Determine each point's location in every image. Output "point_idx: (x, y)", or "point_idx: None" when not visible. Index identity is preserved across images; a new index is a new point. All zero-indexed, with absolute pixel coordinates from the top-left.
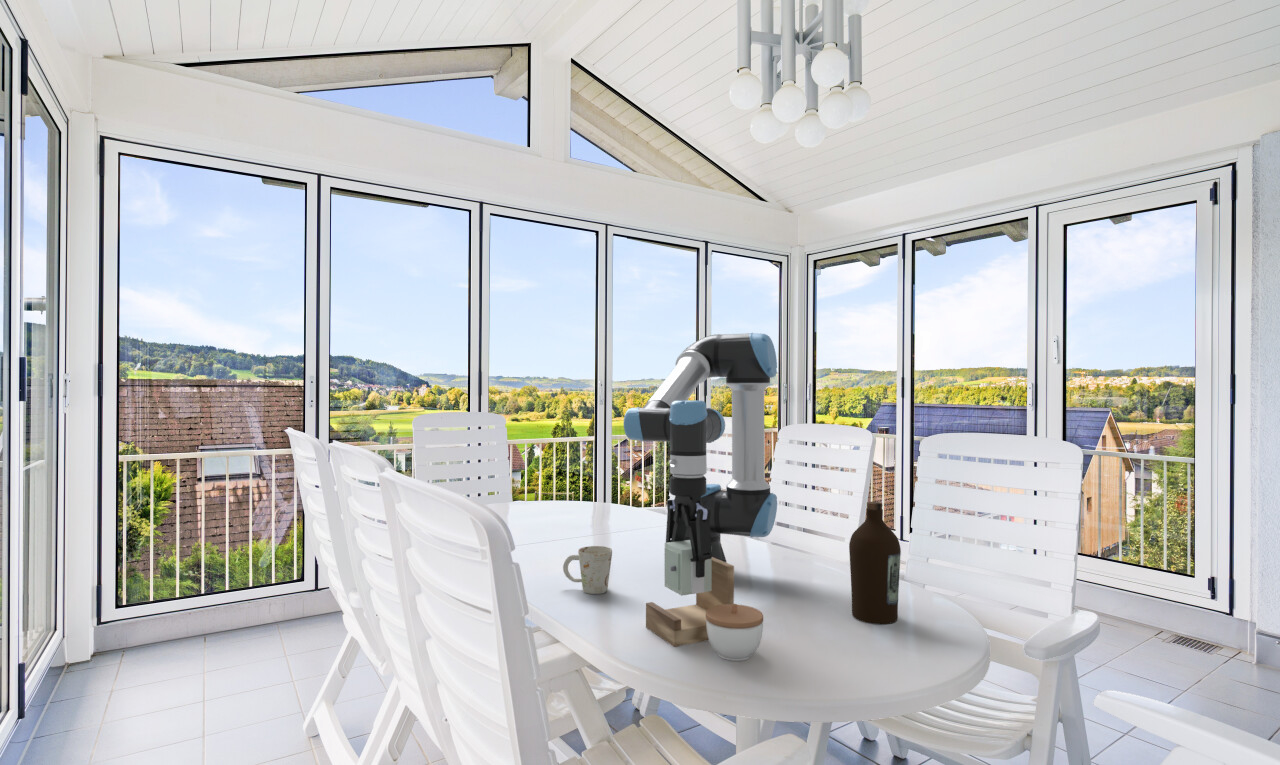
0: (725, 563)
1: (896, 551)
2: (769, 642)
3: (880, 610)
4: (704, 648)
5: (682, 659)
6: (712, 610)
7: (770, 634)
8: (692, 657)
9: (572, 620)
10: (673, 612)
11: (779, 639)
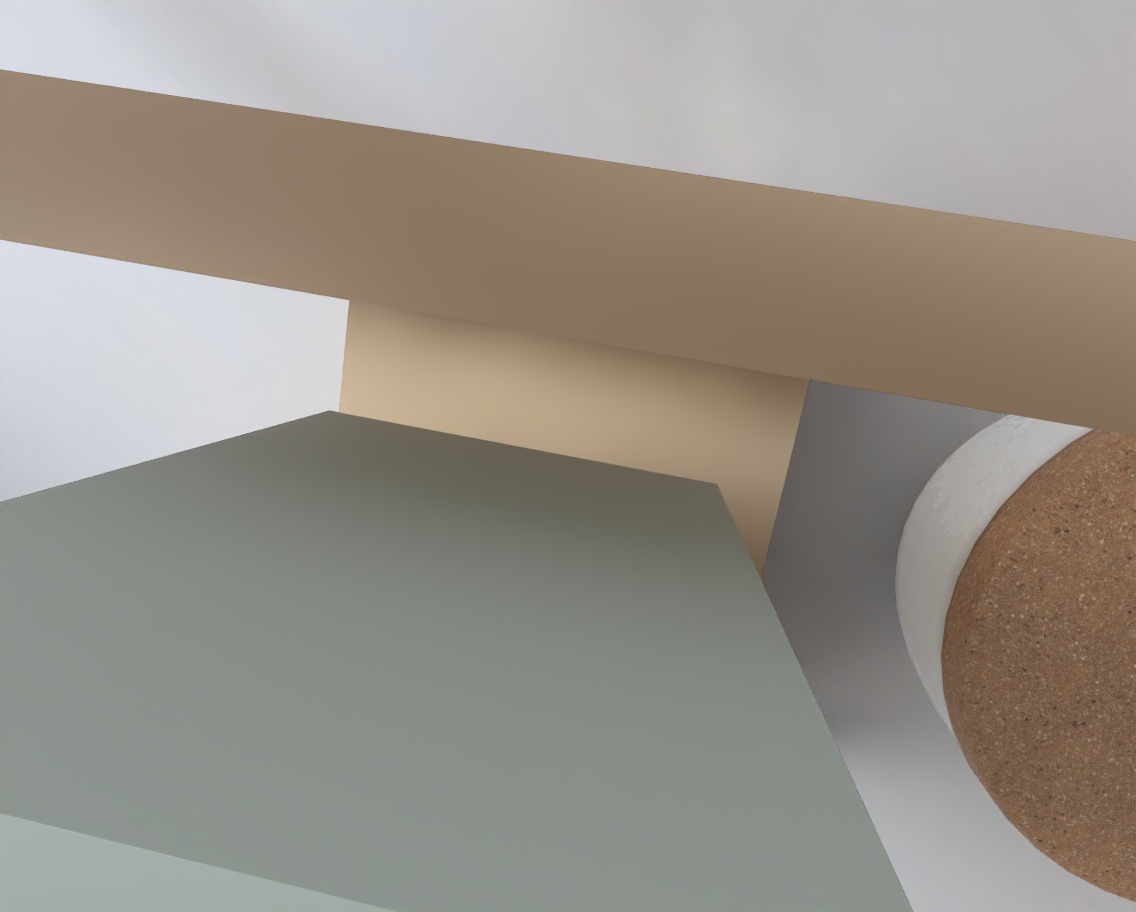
0: (904, 274)
1: None
2: (1066, 183)
3: None
4: (831, 610)
5: (865, 805)
6: (1070, 793)
7: (966, 48)
8: (883, 749)
9: None
10: None
11: (1084, 68)
